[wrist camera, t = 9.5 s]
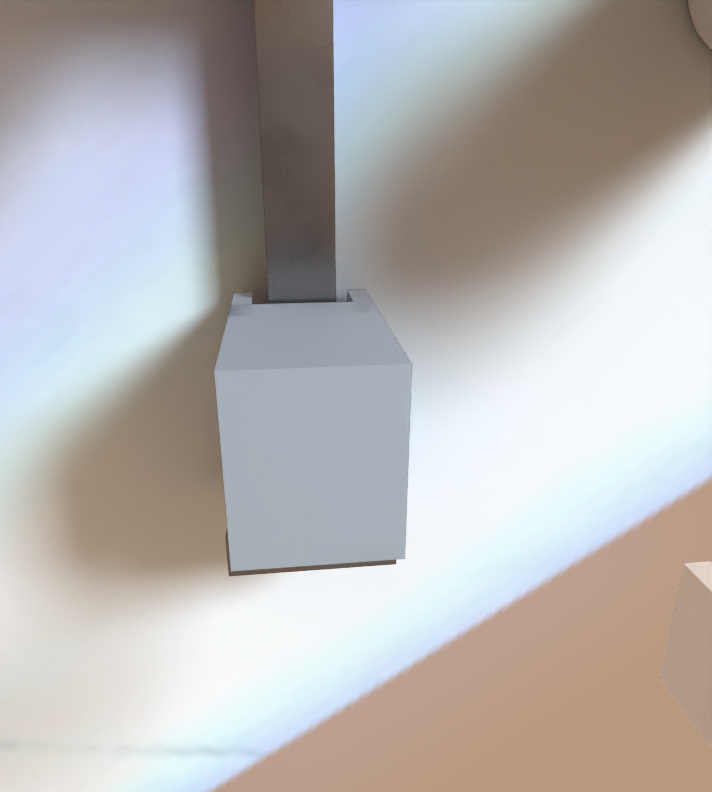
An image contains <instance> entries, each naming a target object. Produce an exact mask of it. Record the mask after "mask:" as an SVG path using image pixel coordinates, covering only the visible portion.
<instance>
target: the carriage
mask: <svg viewBox="0 0 712 792" xmlns="http://www.w3.org/2000/svg"><path fill="white" fill-rule="evenodd" d="M214 375H215V387H216V399H217V411H218V423H219V434H220V446H221V458H222V470H223V482H224V494H225V506H226V518H227V530H228V541H229V553H230V565H231V571H243V570H257V569H271V568H285V567H299V566H312V565H326V564H340V563H354V562H368V561H382V560H396V559H405V544H406V516H407V489H408V461H409V434H410V406H411V378H412V363H411V361H410V360H409V358H408V357H407V355H406V353H405V352H404V350H403V349H402V347H401V345H400V344H399V342H398V341H397V339H396V337H395V336H394V334H393V333H392V331H391V329H390V328H389V326H388V325H387V323H386V322H385V320H384V318H383V317H382V315H381V314H380V312H379V310H378V309H377V307H376V306H375V304H374V302H373V301H372V299H371V298H370V296H369V294H368V293H367V291H366V290H365V289H357V290H347V302H323V303H284V304H254V303H253V292H234V295H233V299H232V303H231V307H230V311H229V315H228V319H227V323H226V327H225V330H224V334H223V338H222V342H221V346H220V350H219V354H218V358H217V362H216V366H215V370H214Z"/></svg>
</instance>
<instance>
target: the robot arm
mask: <svg viewBox="0 0 712 792" xmlns="http://www.w3.org/2000/svg"><path fill="white" fill-rule="evenodd" d="M659 678H660V680H661V681H662V682H663V684H664V685H665V687H666V688H667V689H668V691H669V692H670V693H671V695H672V696H673V697H674V699H675V700H676V701H677V703H678V704H679V706H680V707H681V708H682V710H683V711H684V712H685V714H686V715H687V717H688V718H689V719H690V720H691V722H692V723H693V725H694V726H695V727H696V729H697V730H698V732H699V733H700V734H701V736H702V737H703V738H704V740H705V741H706V742H707V744H708V745H709V746H710V748H711V749H712V561H711V562H698V563H687V564H684V566H683V570H682V575H681V579H680V584H679V589H678V593H677V598H676V602H675V608H674V612H673V616H672V620H671V625H670V629H669V634H668V639H667V643H666V647H665V653H664V657H663V662H662V666H661V670H660V675H659Z"/></svg>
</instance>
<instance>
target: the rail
mask: <svg viewBox="0 0 712 792" xmlns="http://www.w3.org/2000/svg"><path fill="white" fill-rule="evenodd" d="M254 14H255V34H256V55H257V75H258V96H259V116H260V137H261V157H262V178H263V198H264V218H265V239H266V259H267V280H268V300H269V304H284V303H323V302H336V268H335V164H334V59H333V0H254Z"/></svg>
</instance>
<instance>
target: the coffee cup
mask: <svg viewBox="0 0 712 792" xmlns="http://www.w3.org/2000/svg"><path fill="white" fill-rule="evenodd" d="M688 7H689V13H690V16H691V18H692V21H693V24H694V27H695V29H696V32H697V33H698V35H699V36H700V37H701V39H702V40H703V41H704V43H705V44H706V45H707V47H708V48H710V49H711V50H712V0H688Z"/></svg>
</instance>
